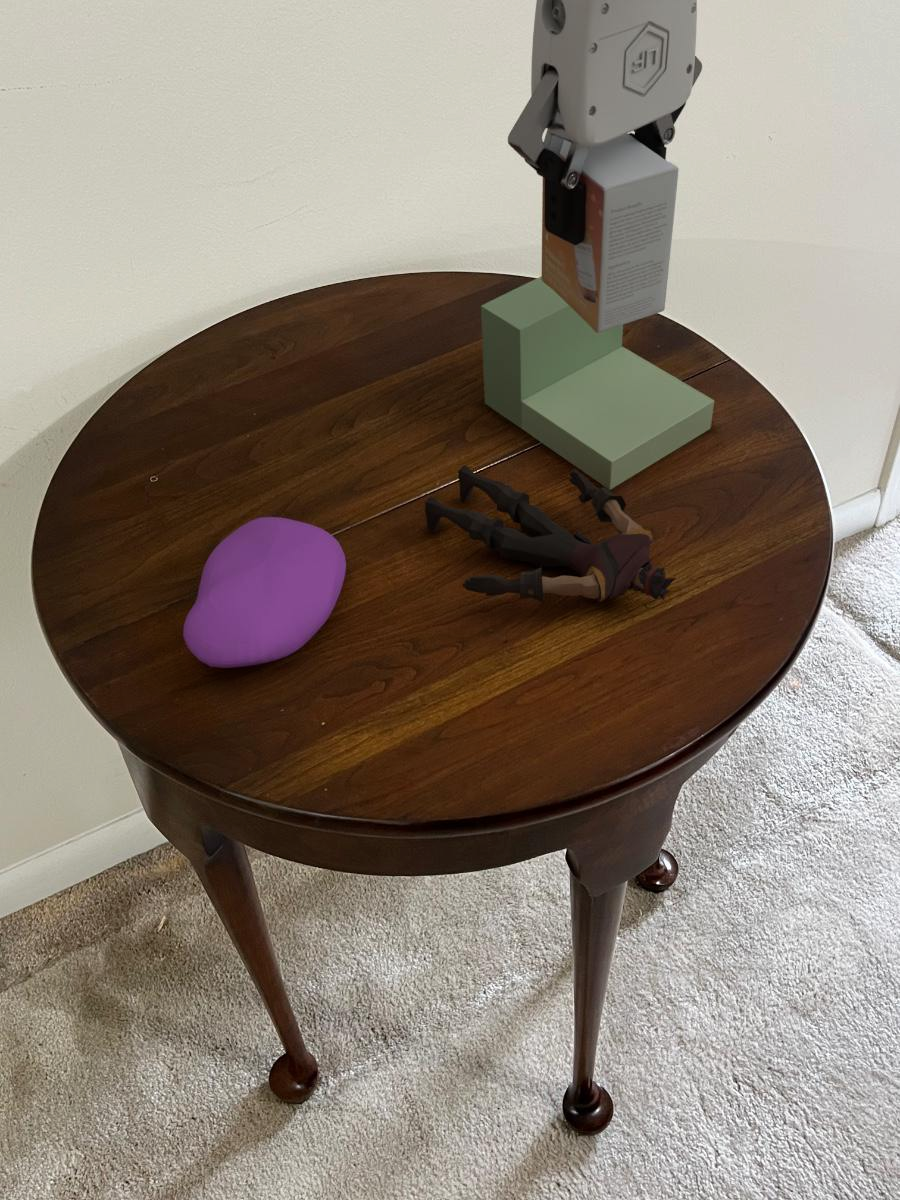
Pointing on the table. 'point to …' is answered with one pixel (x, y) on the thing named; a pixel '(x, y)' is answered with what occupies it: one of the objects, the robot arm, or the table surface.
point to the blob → (264, 593)
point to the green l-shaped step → (583, 387)
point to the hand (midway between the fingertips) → (603, 215)
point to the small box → (616, 236)
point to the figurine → (555, 544)
